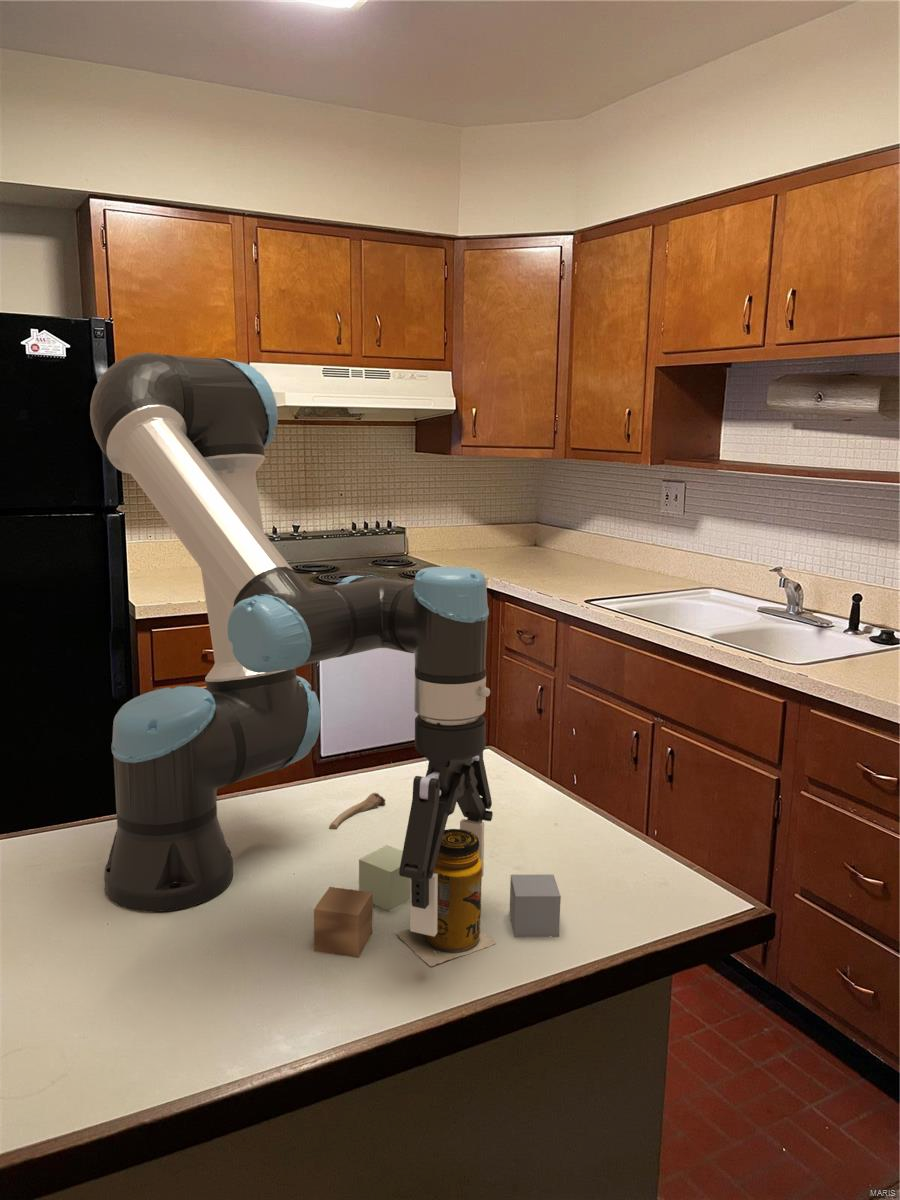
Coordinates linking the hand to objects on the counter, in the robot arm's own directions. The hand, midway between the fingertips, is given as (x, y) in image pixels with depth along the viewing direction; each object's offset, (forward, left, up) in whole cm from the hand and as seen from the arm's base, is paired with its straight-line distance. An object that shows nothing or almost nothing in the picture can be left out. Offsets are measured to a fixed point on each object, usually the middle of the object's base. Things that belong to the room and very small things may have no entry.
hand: (449, 902), depth 99 cm
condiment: (0, 0, -5) cm, 5 cm away
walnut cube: (-10, -5, -5) cm, 12 cm away
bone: (-25, +25, -5) cm, 36 cm away
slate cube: (+8, +7, -5) cm, 11 cm away
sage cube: (-10, +6, -5) cm, 13 cm away
